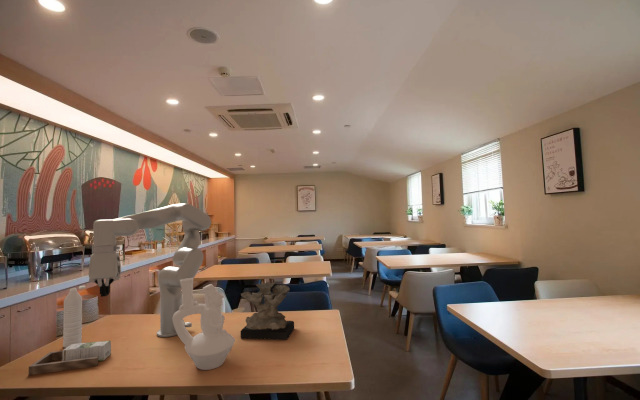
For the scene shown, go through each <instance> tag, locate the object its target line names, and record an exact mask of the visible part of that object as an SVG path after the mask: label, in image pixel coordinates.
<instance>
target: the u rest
mask: <svg viewBox="0 0 640 400" xmlns="http://www.w3.org/2000/svg"><path fill="white" fill-rule="evenodd" d="M62 352H63V350H58V351H57V350H55V351H50V352H48V353H46V354H45V355H43V357H40V358H39V359H38V360H36V361H35V362H33V363H32V364H30V365H29V366H28V376H34V375H40V374H41V375H42V374H48V373H56V372H63V370H64V371H70V370H78V369H84V368H85V369H86V368H93V367H97V366H98V365H99V361H98V357H91V358H83V359H75V360H67V361H62ZM53 360H54V361H53ZM60 360H61V361H60Z"/></svg>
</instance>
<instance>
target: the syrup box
mask: <svg viewBox="0 0 640 400" xmlns="http://www.w3.org/2000/svg"><path fill="white" fill-rule="evenodd" d="M62 351H63V352H62V359H61V361H67V360H75V359H83V358H91V357H98V362H104V361H105V360H106V359H107V358H108V357H109V356H110V355H111V354H112V341H111V340H100V341H91V342H82V343H78V344H71V345H70V346H68V347H67V348H65V347H64V349H62Z"/></svg>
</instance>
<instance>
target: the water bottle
mask: <svg viewBox="0 0 640 400" xmlns="http://www.w3.org/2000/svg"><path fill="white" fill-rule="evenodd" d="M86 287H87V286H86V285H80V286H78V289H79V290H81V289H85V288H86ZM78 289H77V287H73V288H72V287H71V288H70V289H69V292H68V294H67V295H66V296H65V297H64V299H63V326H62V327H63V332H62V333H63V334H62V340H63V341H62V347H63V348H64V349H65V348H67V347H68V346H70V345H71V344H78V343H83V341H82V340H83V338H82V335H83V329H82V327H83V320H82V319H83V297H82V295H81V294H80V293H79V292H78Z"/></svg>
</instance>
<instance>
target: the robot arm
mask: <svg viewBox="0 0 640 400" xmlns="http://www.w3.org/2000/svg"><path fill="white" fill-rule="evenodd" d="M179 221H182V222H181V225H182V228H183V233H184V237H183V239H182V240H181V243H180V244H179V246H178V247H177V249H176V250H175V252H174V254H173V256H172V262H173V264H174V265H170V266H169V265H168V266H166V267H163V268H162V269H161V270H160V271H159V273H158V275H157V276H158V278H157V281H158V287H159V292H160V293H159V294H160V299H159V303H160V304H159V305H160V306H159V307H160V308H159V309H160V311H159V312H160V318H159V319H160V321H159V322H160V324H159V325H160V326H159V327H160V329H158V330H157V332H156V336H157V337H160V338H168V337H175V336H178V334H177V332H176V330H175V328H174V324H173V320H172V317H173V314H174V313H175V312H177V311H178V310H179V307H180V306H181V305H183V295H182V288H181V284H180V280H182V279H187V278H193V280H194V279H195V277H196V275H197V273H198V271H199V269H200V268H201V266H202V265H203V262H204V253H203V251H202V249H200V248H199V246H200V244H201V234H200V231H207V230H208V229H209V228H210V227H211V225H212V220H211V217H210V216H209V215H208V214H207V213H205V212H204V211H202V210H201V209H199V207H196V206H195V205H192V204H191V203H187V202H186V203H175V204H174V203H172V204H169V205H166V206H163V207H159V208H154V209H150V210H147V211H142V212H138V213H135V214H129V215H125V216H122V217H121V216H120V217H118V218H113V219H97V220H95V221H93V228H92V229H93V231H92V232H93V233H92V234H93V237H92V238H93V249H92V252H93V253H92V254H91V256H90V260H89V263H88V264H89V266H88V282H89V283H95V284H96V285H97V287H99V295H100V297H101V298H103V297H107V296H109V294H110V293H111V285H112V284H113V283H114V282H115V281H119V280H121V274H122V266H121V264H122V263H121V257H120V253H119V251H120V250H121V246H118V245H117V237H130V236H134V235H135V234H137V232H138V231H139V230H145V229H146V230H147V229H154V228H158V227H162V226H165V225H168V224H172V223H174V222H175V223H176V222H179ZM183 323H184V325H185V327H186V328H192V327H193V324H192V323H193V322H190V321H188V322H185V319H183Z"/></svg>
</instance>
